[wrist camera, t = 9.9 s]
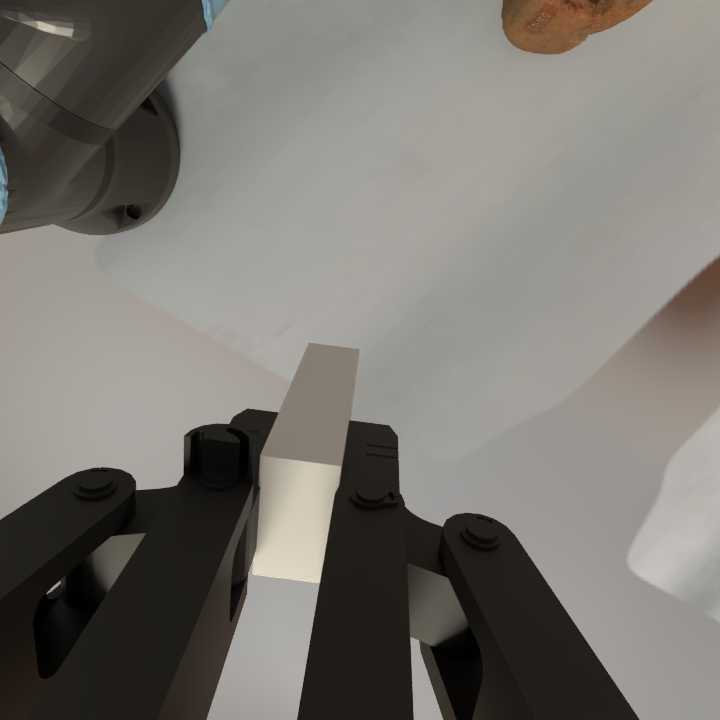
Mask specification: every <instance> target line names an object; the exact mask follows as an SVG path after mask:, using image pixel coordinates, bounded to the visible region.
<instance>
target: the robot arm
mask: <svg viewBox="0 0 720 720" xmlns="http://www.w3.org/2000/svg"><path fill="white" fill-rule="evenodd" d="M229 1H230V0H0V234H5V233H10V232H15V231H20V230H25V229H30V228H36V227H41V226H46V225H51V224H54V225H57V226H60V227H62V228H65V229H68V230H70V231H74V232H77V233H82V234H89V235H109V234H115V233H119V232H123V231H127V230H131V229H133V228H136V227H138V226H140V225H142V224H144V223H146V222H147V221H149V220H150V219H151V218H153V217H154V216H155V215H156V214H157V213H158V212H159V211H160V210H161V209H162V208H163V206H164V205H165V203H166V202H167V200H168V199H169V197H170V195H171V193H172V191H173V188H174V186H175V183H176V179H177V175H178V169H179V144H178V137H177V133H176V129H175V125H174V122H173V119H172V117H171V115H170V112H169V110H168V108H167V106H166V104H165V103H164V101H163V99H162V98H161V96H160V95H159V93H158V92H157V91H156V89H155V87H156V86H157V85H158V84H159V83H160V82H161V81H162V80H163V78H164V77H165V76H166V75H167V74H168V73H169V72H170V70H171V69H172V68H173V67H174V66H175V65H176V64H177V63H178V61H179V60H180V59H181V58H182V57H183V56H184V55H185V54H186V52H187V51H188V50H189V49H190V48H191V47H192V46H193V44H194V43H195V42H196V41H197V40H198V39H199V38H200V37H201V35H202V34H203V35H206V34H208V33H209V32H210V31H211V28H212V26H213V24H214V20H215V18H216V17H217V16H218V15H219V13H220V12H221V11H222V10H223V8H224V7H225V6H226V4H227V3H228V2H229ZM358 357H359V349H353V348H345V347H337V346H330V345H322V344H314V343H309V344H308V346H307V349H306V351H305V353H304V356H303V358H302V360H301V363H300V365H299V367H298V369H297V372H296V374H295V376H294V379H293V381H292V383H291V386H290V388H289V390H288V393H287V395H286V397H285V399H284V402H283V404H282V406H281V409H280V411H279V413H277V412H270V411H262V410H255V409H246V410H244V411H243V412H241V413H239V414H237V415H236V416H234V417H233V419H232V421H231V422H230V424H211V425H204V426H201V427H198V428H195V429H193V430H191V431H190V432H188V433H187V434H186V435H185V436H184V475H183V477H182V478H181V480H180V481H179V483H178V485H177V486H174V487H169V488H161V489H150V490H136V481H135V479H134V478H133V477H132V475H131V474H129V473H127V472H125V471H123V470H120V469H114V468H103V467H101V468H91V469H88V470H84V471H80V472H76V473H75V474H73V475H70V476H68V477H66V478H64V479H63V480H61V481H60V482H58V483H56V484H55V485H53V486H52V487H50V488H49V489H47V490H46V491H44V492H42V493H41V494H39V495H38V496H37V497H35V498H33V499H32V500H30V501H29V502H27V503H26V504H24V505H22V506H21V507H19V508H18V509H16V510H15V511H14V512H12V513H10V514H9V515H7V516H5V517H4V518H2V519H1V520H0V720H206V719H207V716H208V713H209V710H210V707H211V704H212V700H213V697H214V694H215V691H216V688H217V685H218V682H219V679H220V676H221V673H222V669H223V666H224V663H225V660H226V657H227V654H228V651H229V648H230V645H231V641H232V638H233V635H234V632H235V629H236V626H237V623H238V620H239V617H240V614H241V610H242V607H243V604H244V601H245V598H246V595H247V582H248V572H249V569H250V566H251V563H252V560H253V575H261V576H268V577H276V578H284V579H291V580H299V581H306V582H314V583H320V586H319V592H318V598H317V605H316V610H315V616H314V622H313V628H312V634H311V640H310V646H309V652H308V658H307V664H306V670H305V676H304V682H303V688H302V694H301V700H300V706H299V712H298V718H297V720H414V718H413V693H412V669H411V645H410V637H412V638H415V639H417V640H419V641H420V650H421V654H422V657H423V660H424V663H425V666H426V669H427V672H428V675H429V678H430V681H431V684H432V687H433V690H434V693H435V696H436V699H437V702H438V704H439V708H440V711H441V713H442V716H443V719H444V720H639V718H638V717H637V715H636V714H635V712H634V711H633V709H632V708H631V706H630V705H629V703H628V702H627V700H626V699H625V697H624V696H623V695H622V693H621V692H620V690H619V689H618V687H617V686H616V684H615V683H614V681H613V680H612V678H611V677H610V675H609V674H608V672H607V671H606V669H605V668H604V666H603V665H602V663H601V662H600V661H599V659H598V658H597V656H596V655H595V653H594V652H593V650H592V649H591V647H590V646H589V644H588V643H587V641H586V640H585V638H584V637H583V635H582V634H581V632H580V631H579V629H578V628H577V626H576V625H575V623H574V622H573V621H572V619H571V618H570V616H569V615H568V613H567V612H566V610H565V609H564V607H563V606H562V604H561V603H560V601H559V600H558V598H557V597H556V595H555V594H554V592H553V591H552V589H551V588H550V586H549V585H548V584H547V582H546V581H545V579H544V578H543V576H542V575H541V573H540V572H539V570H538V569H537V567H536V566H535V564H534V563H533V561H532V560H531V558H530V557H529V556H528V554H527V553H526V551H525V549H524V548H523V546H522V545H521V544H520V542H519V541H518V539H517V538H516V536H515V535H514V534H513V533H512V532H511V531H510V530H509V529H508V528H507V526H505V525H503V524H502V523H500V522H498V521H497V520H495V519H493V518H490V517H488V516H484V515H481V514H472V513H463V514H456V515H454V516H452V517H450V518H449V519H447V520H446V522H445V524H444V526H443V527H441V526H439V525H436V524H433V523H430V522H428V521H425V520H423V519H421V518H419V517H417V516H416V515H414V514H413V513H411V512H410V511H409V510H408V509H407V508H406V507H405V503H404V500H403V497H402V495H401V494H400V493H399V461H398V436H397V435H396V434H395V432H394V431H393V430H392V429H391V427H390V426H389V425H382V424H374V423H366V422H359V421H351V413H352V405H353V397H354V389H355V381H356V373H357V365H358ZM253 557H254V559H253ZM59 581H60V582H61V584H60V585H59V586H58V587H56V588H55V589H54V590H53V591H52V592H50V593H48V594H46V593H47V592H48V591H49V590H50V589H51V588H52V587H53V586H54V585H55V584H56V583H58V582H59Z"/></svg>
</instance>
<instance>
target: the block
mask: <svg viewBox="0 0 720 720" xmlns="http://www.w3.org/2000/svg"><path fill="white" fill-rule="evenodd" d="M651 1H652V0H503V8H502V16H501V17H502V19H503V30H504V33H505V35H506V37H507V39H508V40H509V41H510V42H511V43H512V44H513V45H514V46H516V47H518V48H519V49H521V50H524V51H528V52H532V53H539V54H560V53H563V52H566V51H569V50H571V49H572V48H574V47H575V46H578V45H580V44H581V43H582V42H583V41H585V39H586V38H587V36H588V35H589V34H593V33H597V32H601V31H604V30H605V29H609V28H611V27H613V26H615V25H617V24H619V23H620V22H622V21H625V20H627V19H628V18H630V17H631V16H633V15H634V14H636V13H637V12H639V11H640V10H641V9H642V8H644V7H645V6H647V5H648V4H649V3H650V2H651Z"/></svg>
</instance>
